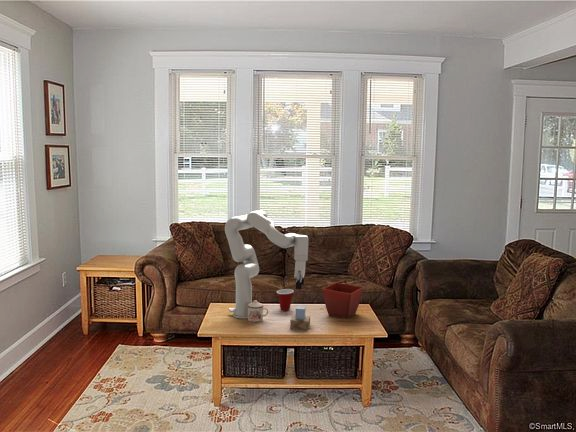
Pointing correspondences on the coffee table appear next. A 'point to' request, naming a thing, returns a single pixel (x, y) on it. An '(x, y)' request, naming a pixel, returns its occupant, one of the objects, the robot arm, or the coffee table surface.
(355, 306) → the plant pot
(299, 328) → the walnut plinth
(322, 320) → the coffee table surface
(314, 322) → the coffee table surface
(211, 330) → the coffee table surface
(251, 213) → the robot arm
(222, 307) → the coffee table surface
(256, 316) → the teacup with lid
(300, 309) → the slate block
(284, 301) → the plastic cup
